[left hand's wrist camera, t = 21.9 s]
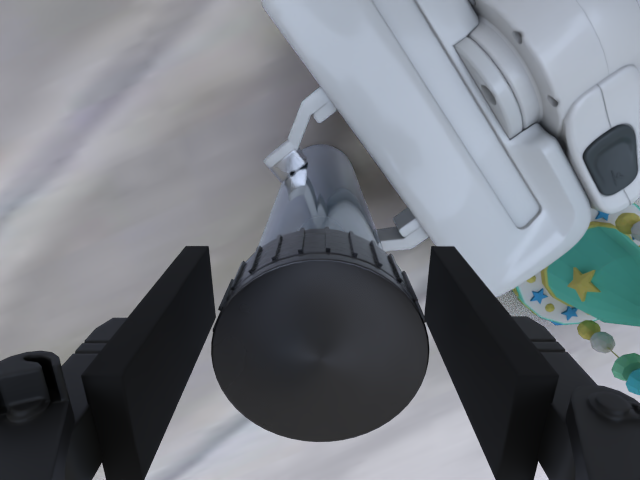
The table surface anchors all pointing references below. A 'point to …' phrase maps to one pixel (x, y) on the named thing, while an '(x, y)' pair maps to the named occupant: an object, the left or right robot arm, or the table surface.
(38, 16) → the table surface
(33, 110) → the table surface
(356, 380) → the lid
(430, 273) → the left robot arm
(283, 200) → the jar
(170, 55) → the table surface
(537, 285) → the decorative hourglass
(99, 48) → the table surface
